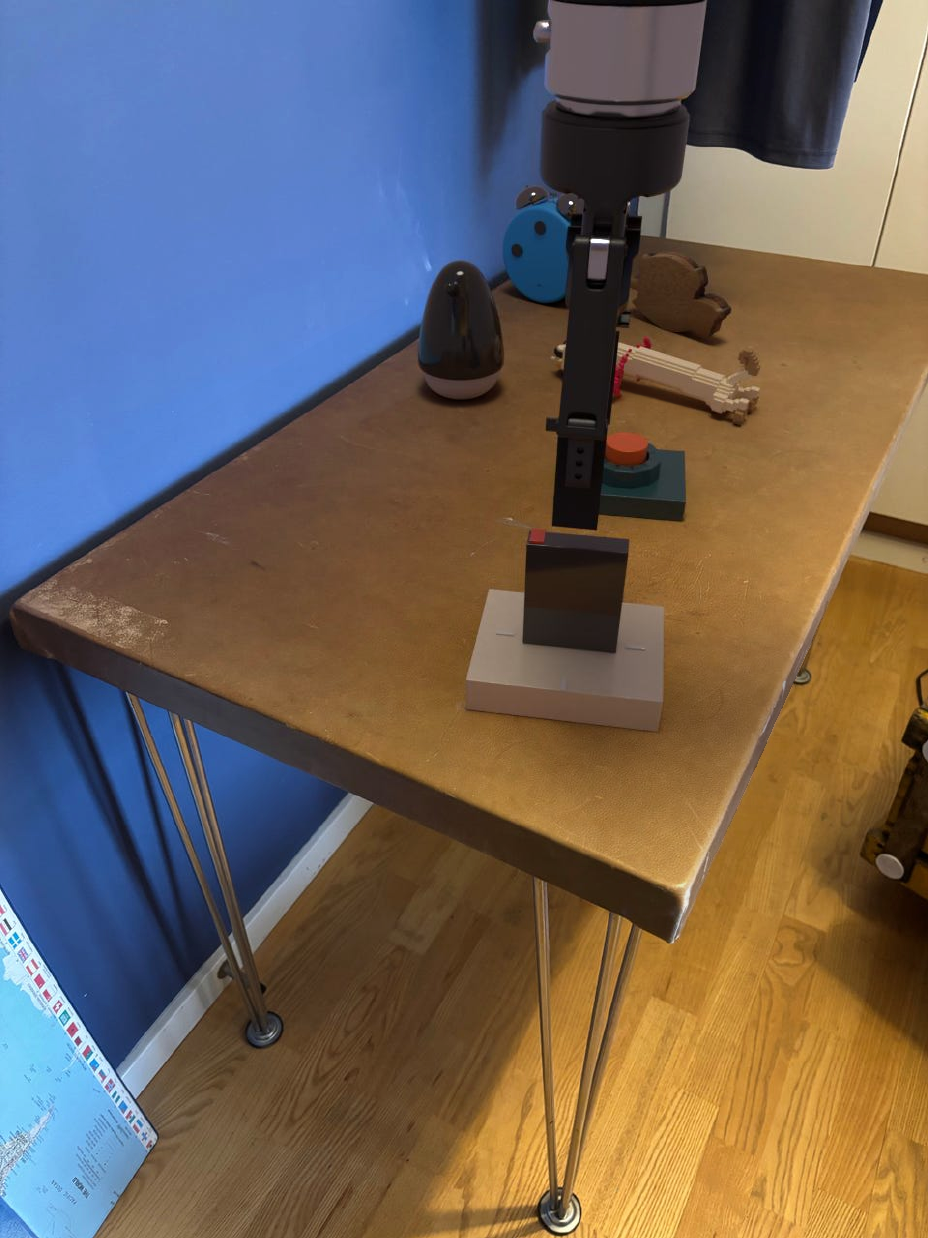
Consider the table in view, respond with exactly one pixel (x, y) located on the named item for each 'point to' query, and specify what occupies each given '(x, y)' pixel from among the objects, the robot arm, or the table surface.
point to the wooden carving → (677, 294)
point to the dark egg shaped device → (460, 334)
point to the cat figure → (685, 377)
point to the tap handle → (574, 590)
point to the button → (626, 449)
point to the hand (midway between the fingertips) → (583, 469)
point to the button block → (646, 487)
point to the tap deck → (568, 670)
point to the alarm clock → (539, 243)
